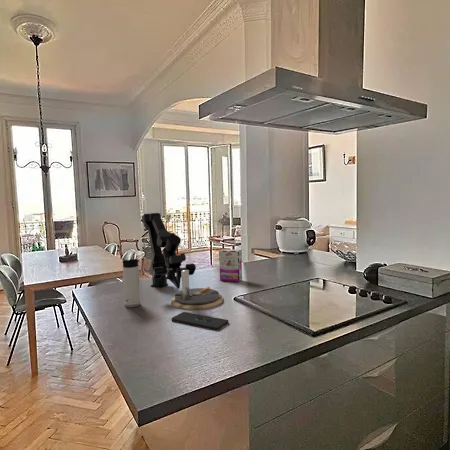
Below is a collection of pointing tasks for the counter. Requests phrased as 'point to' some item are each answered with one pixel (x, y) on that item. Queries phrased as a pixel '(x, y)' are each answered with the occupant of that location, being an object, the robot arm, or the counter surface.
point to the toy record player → (194, 293)
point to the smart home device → (200, 321)
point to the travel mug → (131, 283)
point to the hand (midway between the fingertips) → (178, 287)
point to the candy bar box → (230, 265)
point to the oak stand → (196, 307)
